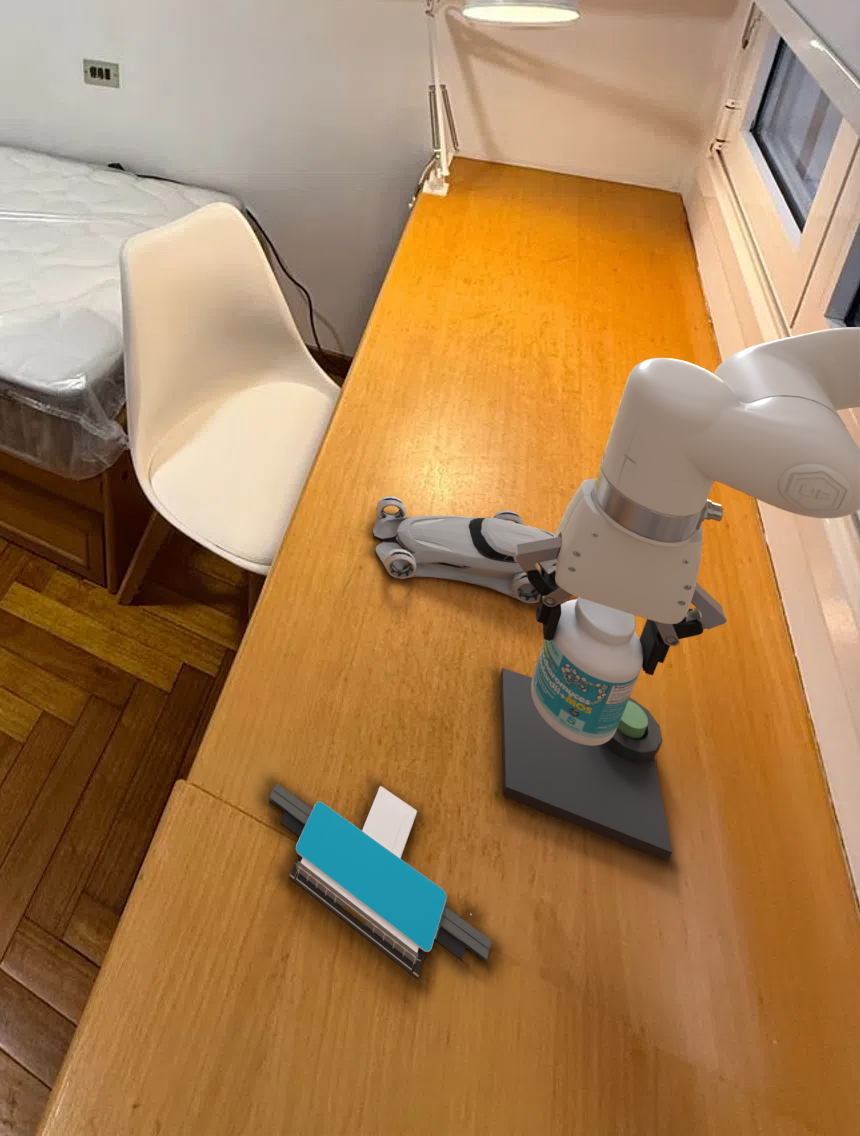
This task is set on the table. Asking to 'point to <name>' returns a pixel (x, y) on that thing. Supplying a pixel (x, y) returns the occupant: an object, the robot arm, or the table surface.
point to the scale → (583, 773)
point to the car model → (458, 548)
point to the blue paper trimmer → (374, 879)
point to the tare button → (633, 721)
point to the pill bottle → (587, 671)
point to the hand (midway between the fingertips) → (594, 642)
